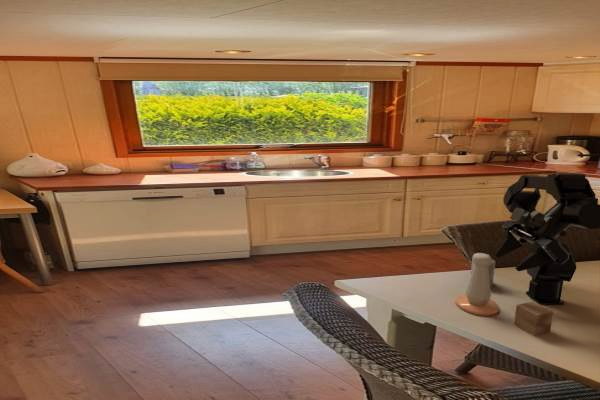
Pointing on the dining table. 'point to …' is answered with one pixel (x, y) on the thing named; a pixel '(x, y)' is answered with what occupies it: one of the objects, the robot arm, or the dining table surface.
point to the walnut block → (533, 318)
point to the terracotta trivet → (485, 310)
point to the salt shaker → (479, 280)
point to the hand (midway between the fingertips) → (505, 262)
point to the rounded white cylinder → (491, 271)
